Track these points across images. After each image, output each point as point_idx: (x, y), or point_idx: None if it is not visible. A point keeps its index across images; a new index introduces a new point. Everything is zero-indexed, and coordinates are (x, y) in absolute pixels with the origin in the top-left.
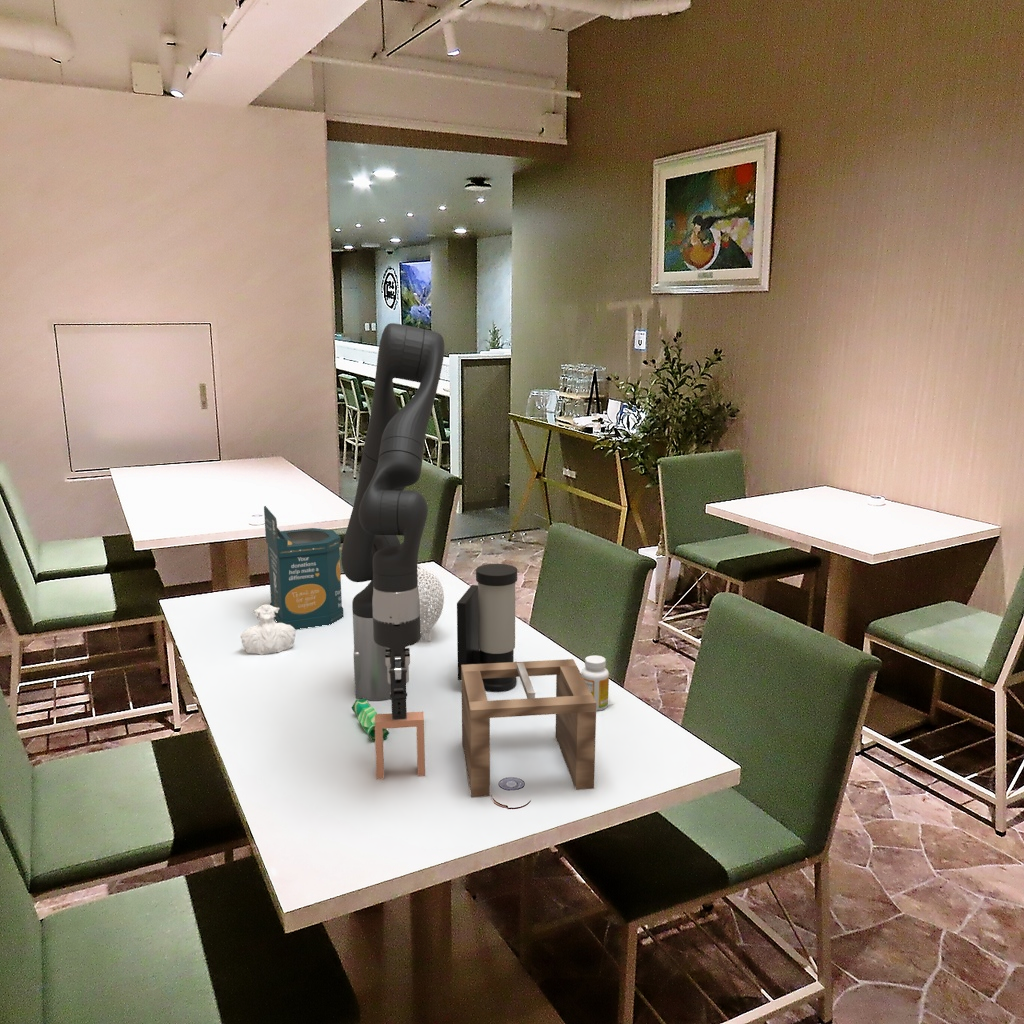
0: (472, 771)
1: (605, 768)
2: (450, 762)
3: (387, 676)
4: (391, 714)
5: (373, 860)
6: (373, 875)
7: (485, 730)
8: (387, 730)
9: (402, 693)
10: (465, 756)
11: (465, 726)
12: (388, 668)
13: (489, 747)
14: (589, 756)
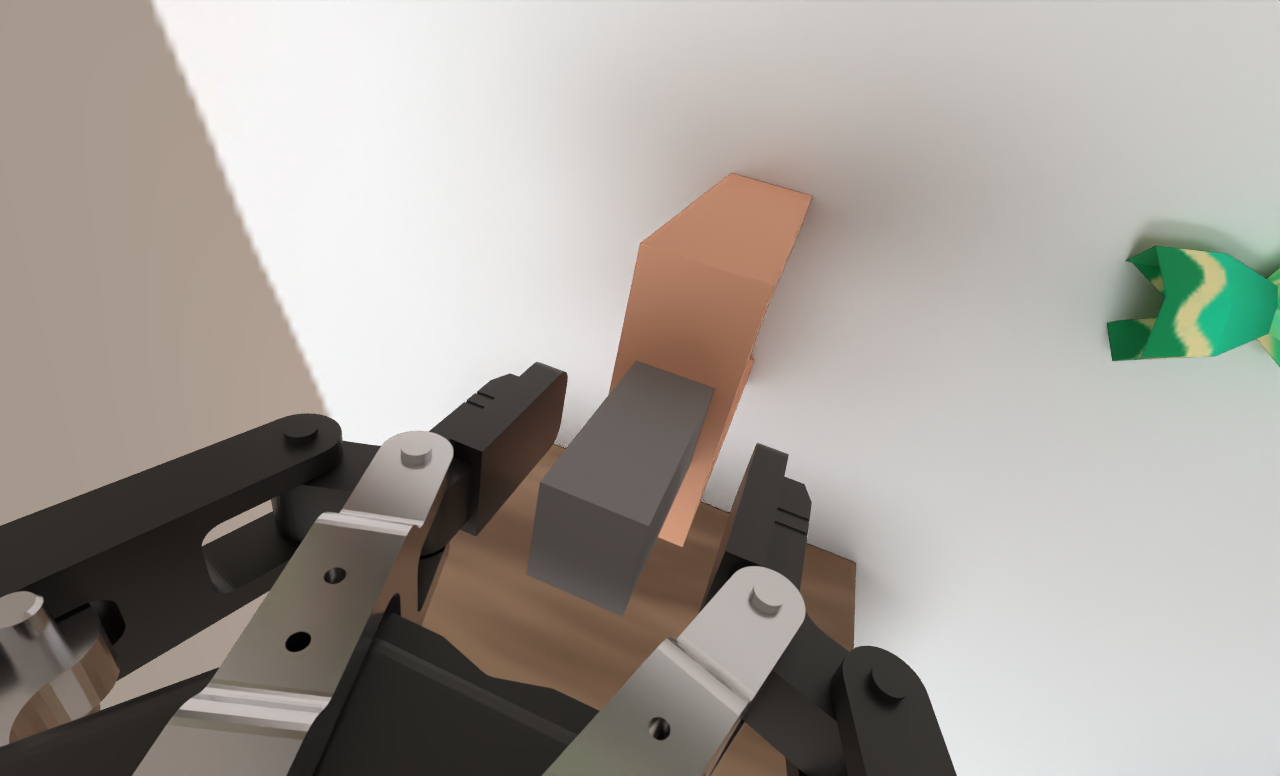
0: None
1: None
2: (737, 470)
3: (289, 564)
4: (718, 386)
5: (242, 29)
6: (180, 12)
7: None
8: (1124, 359)
9: (276, 519)
10: (702, 522)
11: (651, 614)
12: (226, 669)
13: None
14: None
